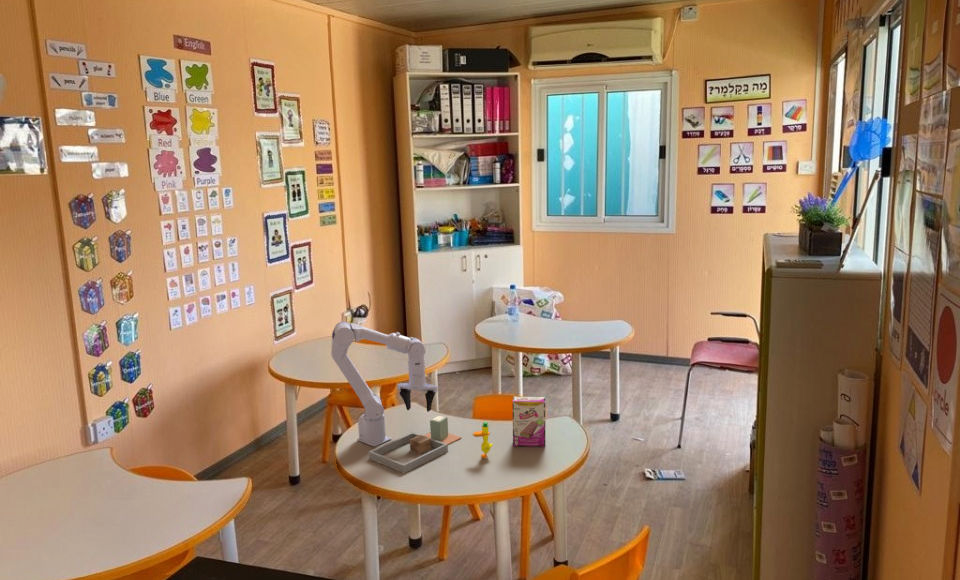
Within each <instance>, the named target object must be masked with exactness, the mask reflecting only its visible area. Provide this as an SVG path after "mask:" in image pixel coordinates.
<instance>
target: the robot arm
mask: <svg viewBox="0 0 960 580" xmlns="http://www.w3.org/2000/svg"><path fill="white" fill-rule="evenodd" d="M361 340H368V341H371V342H375V343H380V344H384V345H385V346H386V349H388V350H391V351H395V352H398V353H400V354H401V353H402V354H407V357H408V361H407V365H408V382H399V383H398V384H397V391H400V392H399V396H400V397H401V399H402V400H403V402H404V405H405V407H406V410H407V411H410V410H411V407H412V406H411V404H412V403H411V392H412V391H413V392H417V391H420V392H426V393H424V396H425V401H426V411H427V413H429V412H430V411H431V410H432V405H433V401H434V398H435V396H436V393H438V391H439V385H435V384H431V383H427V381H426V366H425V365H426V364H425V354H426V349H425V346H424V343H423V342H422V340H420V339H418V337H413V336H410V337H408V336H405V335H402V334H401V333H400V332H399V331H396V332H391V333H388V334H386V333H383V332H380V331H377V330H375V329H372V328H369V327H365V326H362V325H360V324H356V323H353V322H351V323H350V322H348V321H340V322H338V323H336V325H335V326H334V328H333V330H332V332H331V352H330V355H331V357H332V360H333V361H334V363H336V366H337V367H338V368H339V370H340V371H341V373H342V374H343V376H344V377H345V379H346V380H347V382H348V383H349V385H350V386H351V388H352V389H353V391H354V392H355V394H356V395H357V397H358V398H359V400H360V402H361V404H362V406H363V408H364V410H365V412H364V413H362V414H361V415H360V416H359V419H358V421H357V422H358V425H357V426H358V428H357V429H358V438H357V439H356V440H357V441H359V442H362V443H363V444H367V445H369V446H371V447H378V446H380V445H382V444H384V443H386V442H388V441H390V440H392V437H390V436H387V434H386V419H385V418H386V417H385V408H384V406H383V404H382V400H381V397H380V396H378V395H377V394H376V393H374V392H373V390H372V389H371V388H370V387H369V386H368V385H369V384H368V383H367V382H366V381H365V379H364V378H363V376H362V375H361V374H360V372H359V370H358V369H357V367H356V366H355V364H354V363H353V361H352V360H351V358H350V356H349V355H348V350H349V347H350V346H351V345H352V343H353V342H354V341H355V342H356V343H357V342H359V341H361Z"/></svg>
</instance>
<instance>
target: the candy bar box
mask: <svg viewBox="0 0 960 580" xmlns="http://www.w3.org/2000/svg"><path fill="white" fill-rule="evenodd" d="M546 404H547V403H546V396H513V397H512V446H513V447H541V448H543V447H546V440H547V439H546V424H547V423H546V421H547V419H546Z"/></svg>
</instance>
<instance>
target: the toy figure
mask: <svg viewBox="0 0 960 580" xmlns="http://www.w3.org/2000/svg"><path fill="white" fill-rule="evenodd" d="M490 434H491V433H490V432H489V423H488V422H487V421H483V422H482V424H481V430H479V431H473V433H472V436H473V437H475V438H480V437H482V443H481V445H480V448H481V449H480V450H481V451H482V452H483V453H482V454H481V455H480V456H481V458H482V459H486V458H489V457H488V453H489V452H490V450H491V449H492V447H493V445H494V443H490V442H489V435H490Z"/></svg>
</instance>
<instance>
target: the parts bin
mask: <svg viewBox="0 0 960 580" xmlns="http://www.w3.org/2000/svg"><path fill="white" fill-rule="evenodd" d="M418 435H420V434H419V433H416V432H410V433H407V434H405V435H403V436H401V437H398V438H396V439H394V440H392V441H390V442H387V443H385V444H383V445H381V446H380V445H379V447H378V446H377V447H376V448H374V449H372V450H369V451H368V459H369V460H371V461H373V462H375V463H379V464H380V465H384V466H386V467H389V468H391V469H393V470H395V471H398V472H400V473H403V474H405V473H407V472H409V471H411V470H413V469H415V468H417V467H420V466H421V465H424V464H425V463H428V462H429V461H432V460H434V459H436V458H437V457H439V456H441V455H444V454H446V453H447V452H449V445H448V444H445V443H442V442H440V441H437V440H434V439H431V448H434V449H432V450H429V452H428V451H427V452H426V453H424V454H422V455H420V456H417V457H416V458H414V459H412V460H410V461H407V462H406V463H402V462H401V461H400V462H399V461H396V460H394V459H392V458H390V457H387V456H384V454H386V453H389V452H390V451H392V450H394V449H396V448H398V447H401V446H403V445H405V444H407V443H410V439H412V438H414V437H416V436H418Z"/></svg>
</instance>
